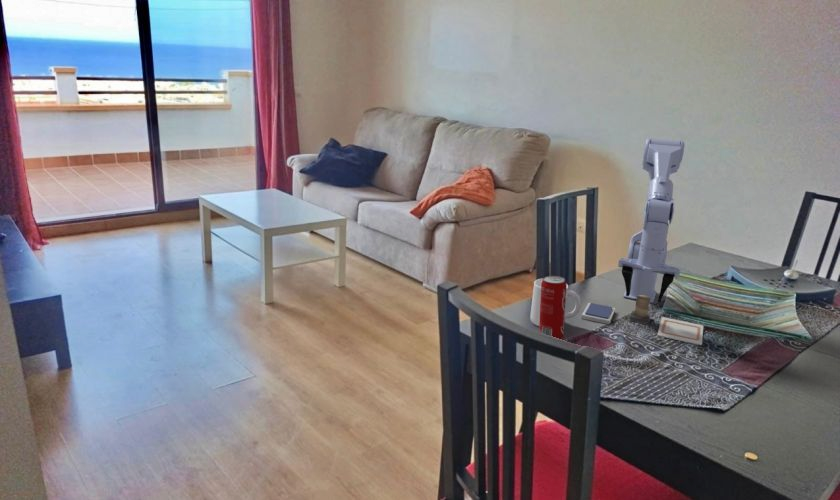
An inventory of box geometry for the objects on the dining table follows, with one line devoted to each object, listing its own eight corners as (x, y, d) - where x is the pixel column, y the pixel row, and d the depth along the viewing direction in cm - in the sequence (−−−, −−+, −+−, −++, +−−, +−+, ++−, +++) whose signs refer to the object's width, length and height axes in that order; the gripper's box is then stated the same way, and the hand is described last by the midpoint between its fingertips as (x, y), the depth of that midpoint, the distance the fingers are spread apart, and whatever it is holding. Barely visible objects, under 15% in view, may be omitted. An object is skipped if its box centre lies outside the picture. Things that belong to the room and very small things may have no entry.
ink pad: (588, 306, 163) (588, 301, 163) (614, 311, 161) (615, 306, 160) (581, 318, 156) (582, 313, 155) (609, 324, 153) (610, 319, 152)
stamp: (631, 314, 160) (635, 292, 158) (649, 318, 158) (653, 296, 156) (629, 320, 156) (633, 298, 154) (647, 324, 154) (651, 302, 152)
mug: (576, 318, 156) (581, 280, 152) (580, 332, 148) (586, 293, 145) (528, 314, 157) (533, 276, 153) (531, 327, 149) (535, 289, 146)
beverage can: (563, 345, 141) (571, 285, 136) (534, 341, 142) (541, 281, 137) (562, 334, 146) (570, 276, 142) (535, 330, 147) (542, 273, 143)
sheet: (661, 317, 158) (661, 316, 158) (703, 326, 154) (703, 325, 154) (657, 335, 148) (657, 334, 148) (701, 345, 144) (702, 343, 144)
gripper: (619, 246, 150) (611, 297, 154) (682, 256, 144) (672, 309, 148) (623, 239, 156) (616, 288, 160) (684, 249, 150) (674, 299, 155)
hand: (643, 297), depth 155 cm, fingers open, 7 cm apart
